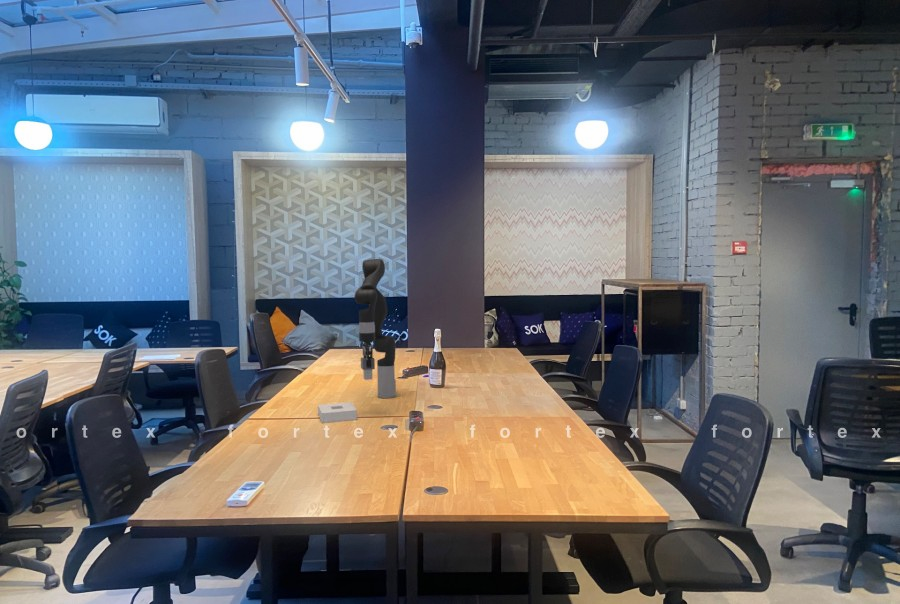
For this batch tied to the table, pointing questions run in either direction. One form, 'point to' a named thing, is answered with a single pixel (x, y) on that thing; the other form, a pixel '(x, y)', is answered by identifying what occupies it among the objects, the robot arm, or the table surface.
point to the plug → (367, 370)
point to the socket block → (337, 412)
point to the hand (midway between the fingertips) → (367, 366)
